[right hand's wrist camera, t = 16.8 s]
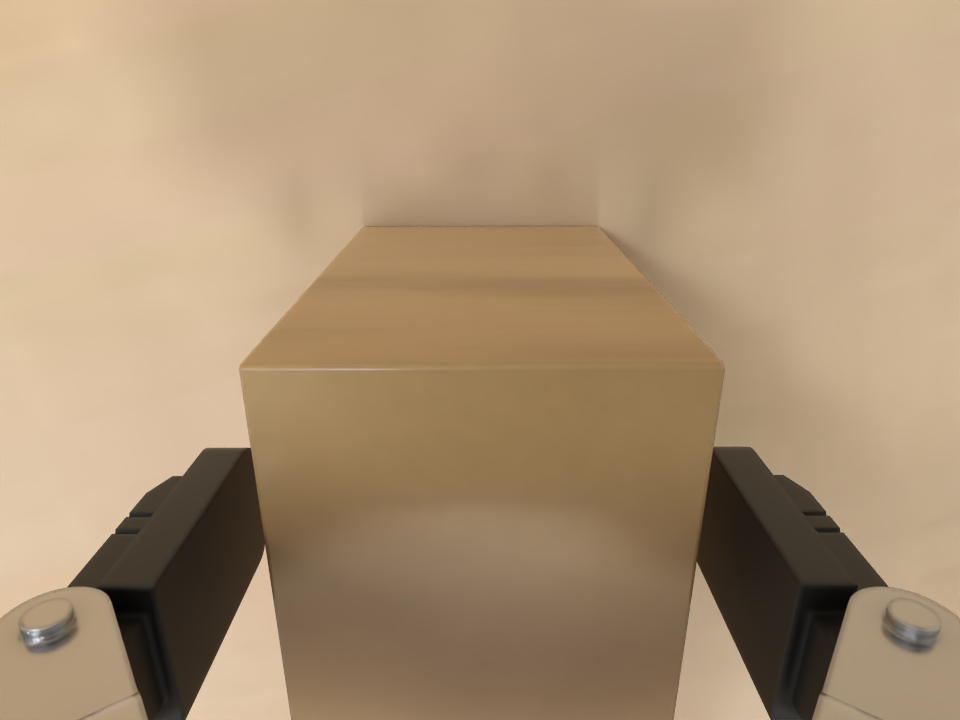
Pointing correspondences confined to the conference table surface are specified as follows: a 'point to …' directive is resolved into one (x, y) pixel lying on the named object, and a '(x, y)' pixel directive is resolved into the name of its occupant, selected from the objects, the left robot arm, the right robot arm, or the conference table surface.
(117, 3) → the conference table surface
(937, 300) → the conference table surface
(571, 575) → the box
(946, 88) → the conference table surface
